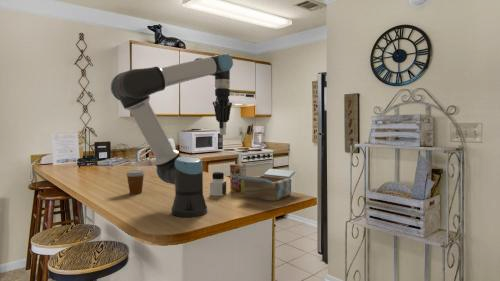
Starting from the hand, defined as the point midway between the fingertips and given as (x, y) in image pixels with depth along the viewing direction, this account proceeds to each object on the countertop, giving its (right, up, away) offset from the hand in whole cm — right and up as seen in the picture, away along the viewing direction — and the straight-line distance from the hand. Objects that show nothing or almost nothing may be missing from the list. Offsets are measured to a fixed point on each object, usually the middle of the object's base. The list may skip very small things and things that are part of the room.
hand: (222, 134), depth 168 cm
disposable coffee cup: (-49, -32, +13) cm, 60 cm away
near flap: (+19, -23, -2) cm, 30 cm away
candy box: (+7, -32, +15) cm, 36 cm away
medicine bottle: (-3, -32, +9) cm, 34 cm away
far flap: (+28, -23, +11) cm, 38 cm away
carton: (+23, -32, +5) cm, 40 cm away
